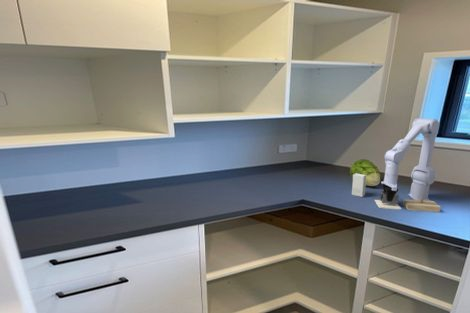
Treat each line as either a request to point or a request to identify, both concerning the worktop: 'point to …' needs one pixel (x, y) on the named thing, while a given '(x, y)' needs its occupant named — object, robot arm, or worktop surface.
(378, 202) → the tile
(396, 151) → the robot arm
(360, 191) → the skincare box
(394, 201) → the grey notched block
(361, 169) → the lettuce
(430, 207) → the body
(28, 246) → the worktop surface
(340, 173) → the worktop surface
